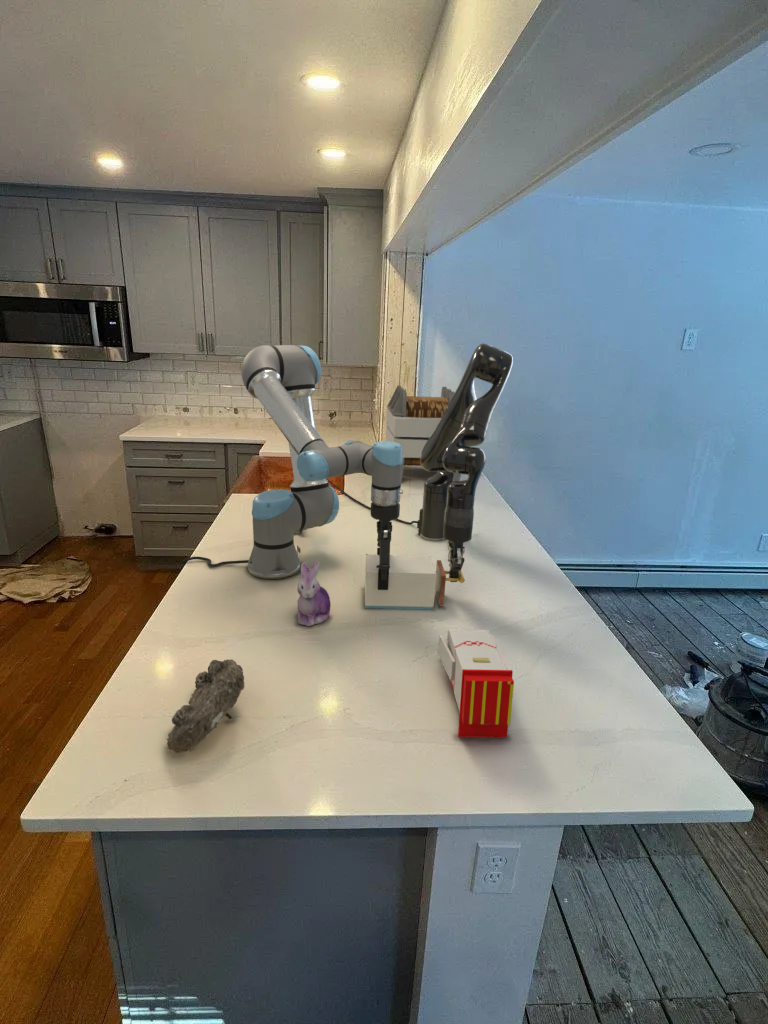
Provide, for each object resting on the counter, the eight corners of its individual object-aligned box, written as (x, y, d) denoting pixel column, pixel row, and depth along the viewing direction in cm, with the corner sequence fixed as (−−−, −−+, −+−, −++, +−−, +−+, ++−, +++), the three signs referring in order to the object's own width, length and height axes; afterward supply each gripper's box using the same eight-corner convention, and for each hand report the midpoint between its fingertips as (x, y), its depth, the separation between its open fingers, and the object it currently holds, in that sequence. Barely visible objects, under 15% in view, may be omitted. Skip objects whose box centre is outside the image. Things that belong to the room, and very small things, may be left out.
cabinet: (428, 590, 161) (431, 555, 157) (433, 609, 151) (436, 573, 147) (364, 588, 160) (365, 554, 156) (364, 608, 150) (366, 571, 146)
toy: (488, 613, 130) (523, 677, 101) (484, 667, 133) (517, 744, 104) (435, 612, 130) (455, 676, 101) (432, 666, 133) (451, 743, 103)
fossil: (192, 660, 117) (244, 628, 112) (224, 691, 120) (276, 661, 115) (142, 746, 98) (202, 712, 93) (182, 779, 101) (242, 748, 96)
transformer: (382, 463, 289) (386, 382, 275) (445, 464, 293) (451, 384, 279) (390, 482, 257) (394, 392, 243) (460, 483, 261) (468, 394, 247)
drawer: (458, 588, 160) (460, 560, 158) (464, 605, 151) (467, 576, 148) (378, 586, 159) (379, 558, 156) (379, 604, 150) (381, 574, 147)
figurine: (302, 631, 137) (302, 575, 132) (289, 611, 146) (288, 558, 141) (338, 623, 142) (339, 568, 137) (323, 604, 150) (323, 552, 145)
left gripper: (403, 518, 135) (398, 600, 142) (397, 489, 157) (393, 561, 164) (371, 517, 134) (368, 599, 142) (370, 488, 156) (367, 560, 164)
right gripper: (477, 531, 142) (471, 592, 148) (468, 513, 155) (462, 570, 160) (448, 530, 142) (442, 592, 148) (440, 512, 154) (436, 570, 160)
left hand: (382, 579), depth 153 cm, fingers closed on cabinet, 11 cm apart
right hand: (453, 580), depth 154 cm, fingers closed
